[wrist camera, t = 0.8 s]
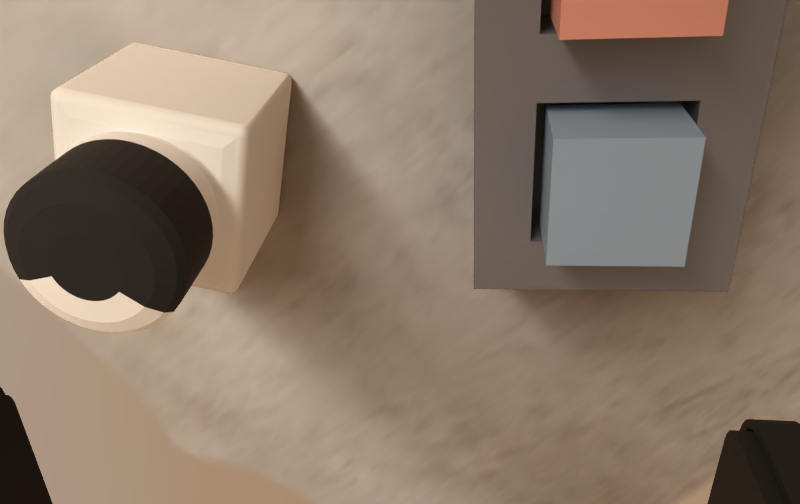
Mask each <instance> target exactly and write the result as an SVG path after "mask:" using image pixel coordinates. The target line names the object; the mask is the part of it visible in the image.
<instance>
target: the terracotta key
mask: <svg viewBox="0 0 800 504" xmlns="http://www.w3.org/2000/svg"><path fill="white" fill-rule="evenodd" d="M728 2H729V0H551V7H550V17H551V19H552V22H553V25H554V27H555V30H556V33H557V35H558V38H559V40H572V39H613V38H654V37H696V36H723V32H724V26H725V20H726V14H727V8H728Z"/></svg>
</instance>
